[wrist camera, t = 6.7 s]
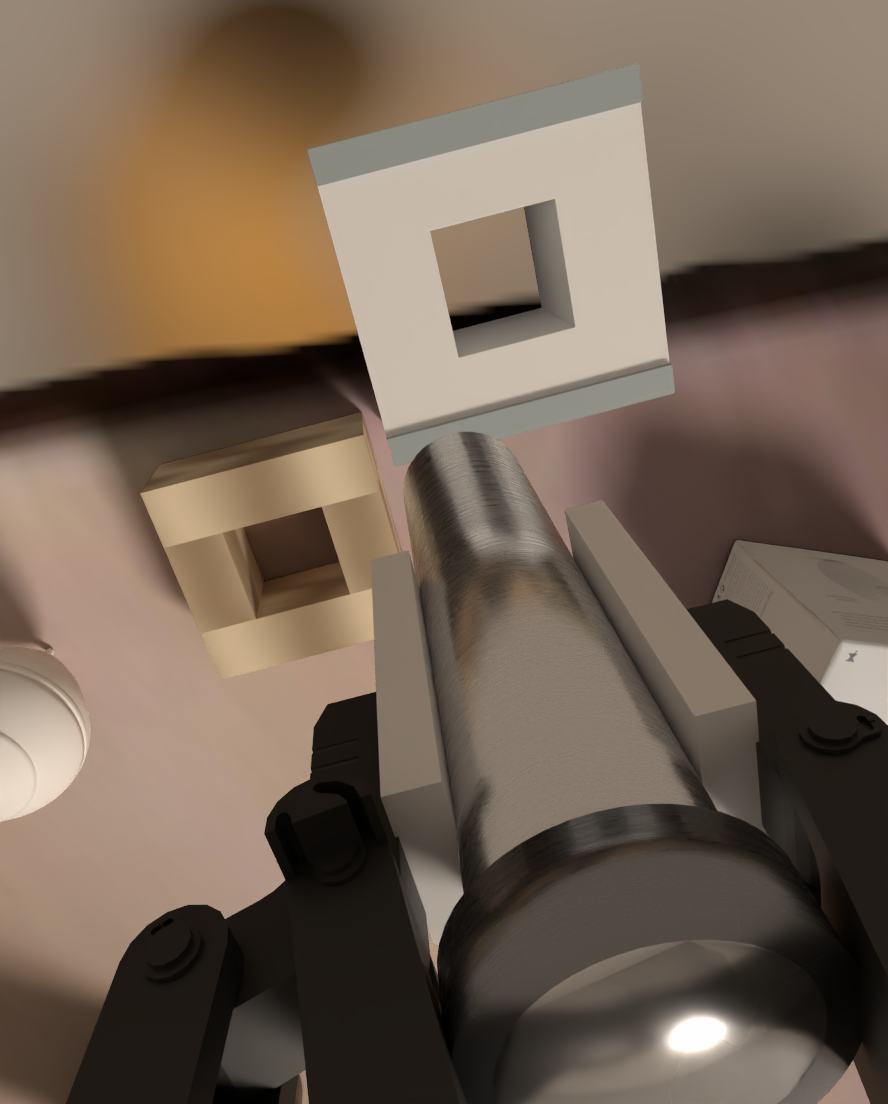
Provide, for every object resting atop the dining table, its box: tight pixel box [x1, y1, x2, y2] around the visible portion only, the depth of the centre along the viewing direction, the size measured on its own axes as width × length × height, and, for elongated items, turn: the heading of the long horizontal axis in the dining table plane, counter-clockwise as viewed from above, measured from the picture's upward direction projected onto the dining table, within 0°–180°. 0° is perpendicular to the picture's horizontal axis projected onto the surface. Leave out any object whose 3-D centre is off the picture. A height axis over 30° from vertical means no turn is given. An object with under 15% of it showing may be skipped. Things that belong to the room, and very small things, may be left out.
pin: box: [403, 431, 862, 1104], centre depth 14 cm, size 4×4×15 cm
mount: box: [140, 412, 402, 680], centre depth 38 cm, size 10×10×4 cm
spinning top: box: [0, 647, 91, 822], centre depth 36 cm, size 8×8×12 cm
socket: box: [307, 63, 675, 467], centre depth 33 cm, size 12×12×6 cm
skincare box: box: [712, 540, 888, 725], centre depth 41 cm, size 10×6×10 cm, turn 79°
